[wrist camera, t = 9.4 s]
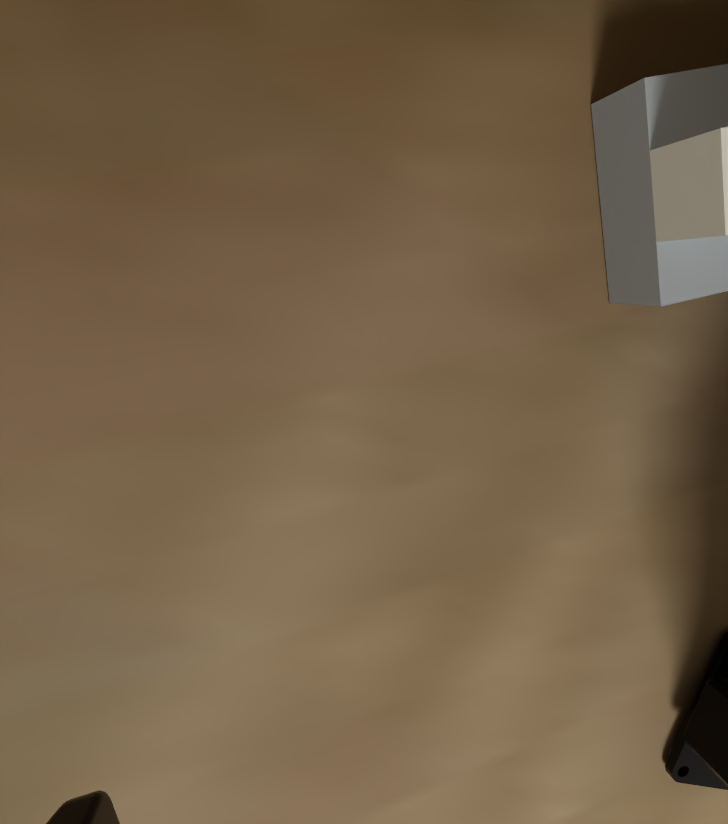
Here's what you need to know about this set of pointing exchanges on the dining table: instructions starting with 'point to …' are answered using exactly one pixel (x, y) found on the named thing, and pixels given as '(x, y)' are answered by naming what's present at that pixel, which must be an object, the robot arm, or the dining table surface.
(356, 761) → the dining table surface
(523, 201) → the dining table surface
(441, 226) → the dining table surface
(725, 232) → the ridge stand
